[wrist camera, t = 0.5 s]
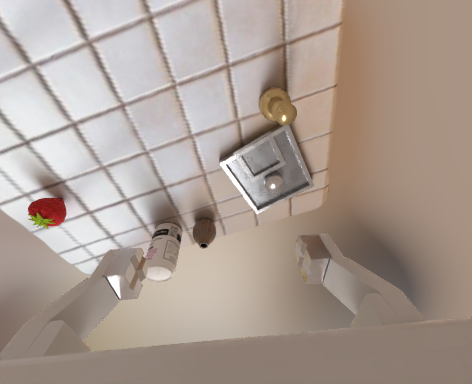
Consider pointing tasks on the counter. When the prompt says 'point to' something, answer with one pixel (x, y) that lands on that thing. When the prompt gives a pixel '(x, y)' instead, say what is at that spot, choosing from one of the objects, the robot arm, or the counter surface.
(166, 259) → the supplement can
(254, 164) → the tray
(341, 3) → the counter surface
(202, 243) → the vase
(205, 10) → the counter surface
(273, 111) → the gold peg with base
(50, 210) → the strawberry
